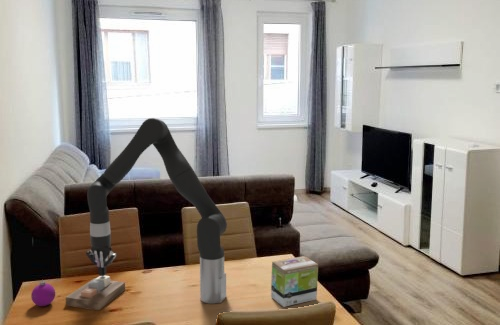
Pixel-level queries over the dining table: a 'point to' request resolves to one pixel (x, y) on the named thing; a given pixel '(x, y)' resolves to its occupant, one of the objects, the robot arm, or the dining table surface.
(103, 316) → the dining table surface
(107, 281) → the key ivory
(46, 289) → the christmas ornament
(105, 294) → the keypad board
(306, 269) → the tea box
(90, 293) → the key terracotta
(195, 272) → the dining table surface
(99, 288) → the key slate
